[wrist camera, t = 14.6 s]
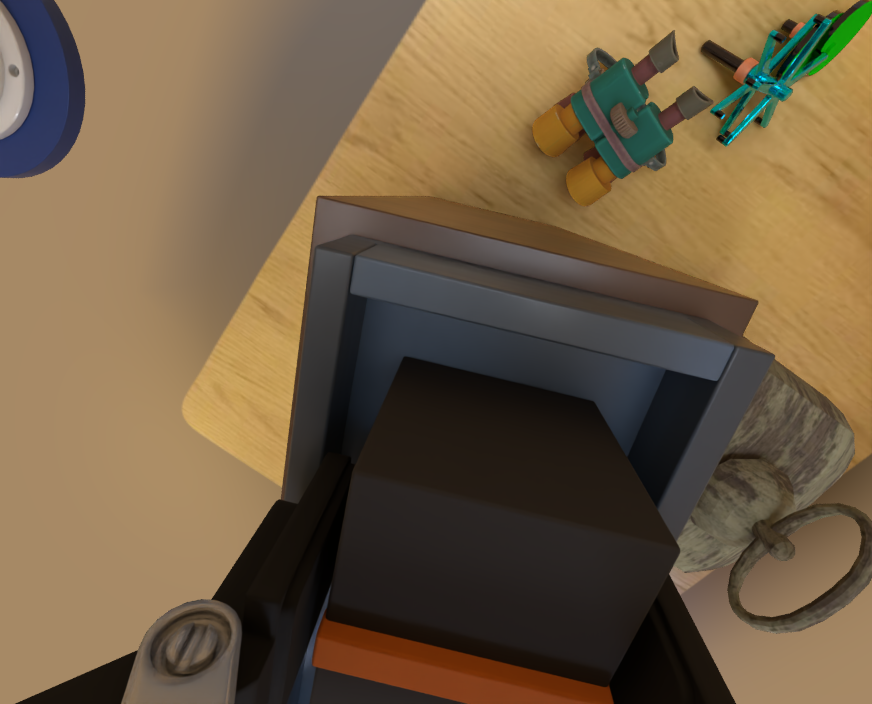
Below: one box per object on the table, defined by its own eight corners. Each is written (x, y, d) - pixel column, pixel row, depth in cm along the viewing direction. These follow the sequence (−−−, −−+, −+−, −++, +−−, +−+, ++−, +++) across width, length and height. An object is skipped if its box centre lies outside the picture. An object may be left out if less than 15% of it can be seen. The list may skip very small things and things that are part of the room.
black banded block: (358, 560, 13) (291, 773, 9) (401, 354, 11) (342, 482, 6) (519, 599, 13) (545, 835, 8) (597, 401, 11) (697, 568, 6)
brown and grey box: (387, 402, 44) (219, 798, 15) (429, 196, 37) (268, 195, 8) (493, 428, 44) (530, 874, 15) (556, 226, 37) (847, 333, 8)
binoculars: (558, 86, 35) (510, 116, 29) (672, -18, 28) (643, -9, 22) (619, 183, 37) (587, 231, 31) (740, 108, 30) (731, 150, 24)
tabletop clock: (646, 281, 38) (930, 422, 14) (725, 338, 39) (1110, 556, 15) (541, 403, 42) (624, 662, 19) (614, 451, 43) (778, 752, 20)
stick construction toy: (716, 173, 32) (768, 78, 25) (647, 121, 35) (676, 23, 28) (844, 80, 33) (932, -41, 25) (766, 36, 35) (825, -84, 28)
